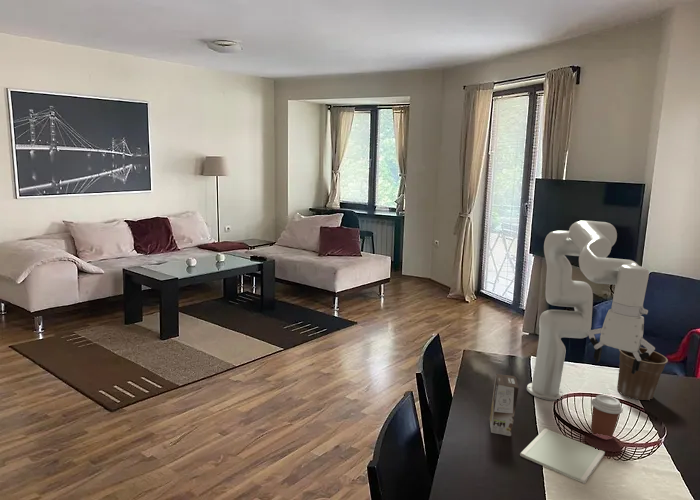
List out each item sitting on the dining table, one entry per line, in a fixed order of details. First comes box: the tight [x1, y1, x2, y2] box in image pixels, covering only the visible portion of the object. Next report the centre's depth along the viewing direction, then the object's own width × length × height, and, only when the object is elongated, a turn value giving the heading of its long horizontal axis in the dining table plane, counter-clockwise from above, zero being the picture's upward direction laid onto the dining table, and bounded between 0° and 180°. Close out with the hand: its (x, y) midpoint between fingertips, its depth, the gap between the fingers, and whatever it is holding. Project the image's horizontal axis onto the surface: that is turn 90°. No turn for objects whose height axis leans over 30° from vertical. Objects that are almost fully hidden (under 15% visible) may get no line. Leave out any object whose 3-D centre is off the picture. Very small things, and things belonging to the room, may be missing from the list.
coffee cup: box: [590, 394, 624, 436], centre depth 173 cm, size 9×9×12 cm
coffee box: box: [489, 373, 520, 437], centre depth 171 cm, size 9×6×16 cm
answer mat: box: [519, 427, 606, 484], centre depth 160 cm, size 20×18×1 cm
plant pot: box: [616, 346, 669, 401], centre depth 205 cm, size 16×16×16 cm
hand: (615, 367), depth 155 cm, fingers open, 9 cm apart
